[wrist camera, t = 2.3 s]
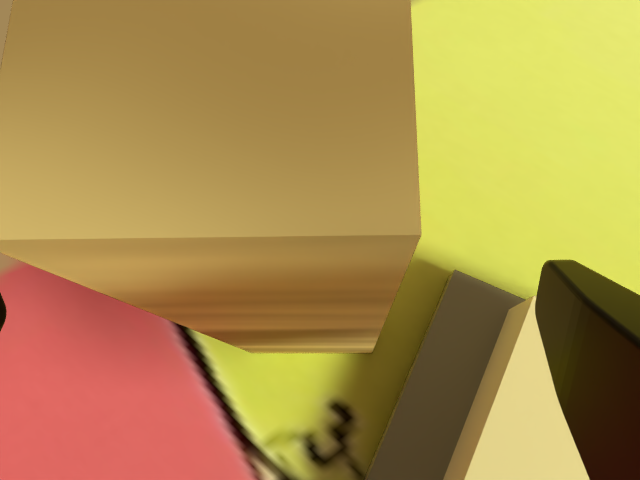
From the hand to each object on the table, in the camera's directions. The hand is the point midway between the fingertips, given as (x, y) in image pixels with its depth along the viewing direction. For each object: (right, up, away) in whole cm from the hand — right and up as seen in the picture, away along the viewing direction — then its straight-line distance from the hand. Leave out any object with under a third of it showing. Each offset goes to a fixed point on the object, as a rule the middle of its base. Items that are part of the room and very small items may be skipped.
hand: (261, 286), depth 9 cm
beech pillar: (+1, -1, +10) cm, 10 cm away
